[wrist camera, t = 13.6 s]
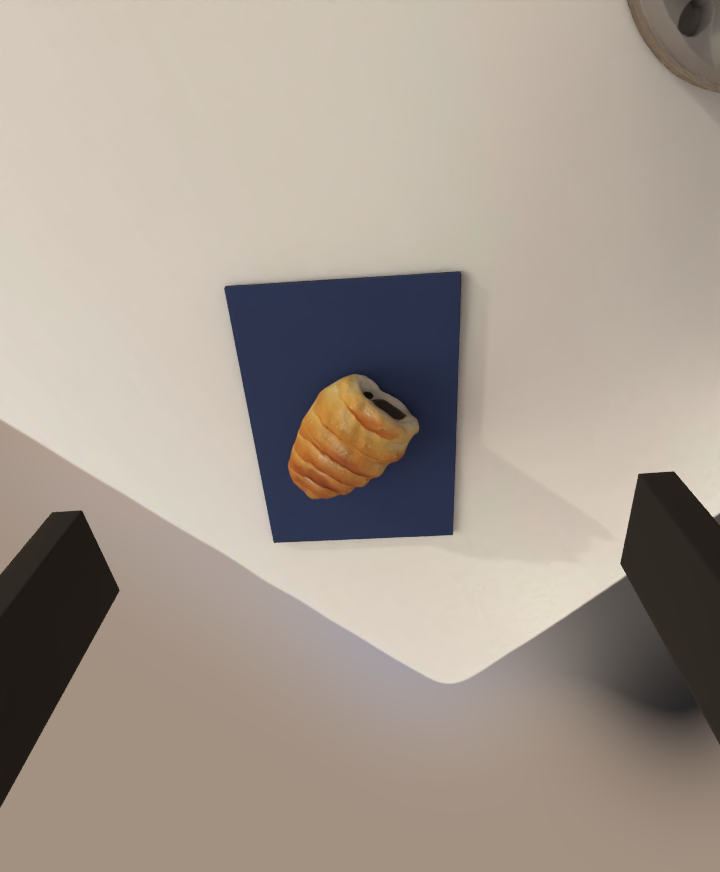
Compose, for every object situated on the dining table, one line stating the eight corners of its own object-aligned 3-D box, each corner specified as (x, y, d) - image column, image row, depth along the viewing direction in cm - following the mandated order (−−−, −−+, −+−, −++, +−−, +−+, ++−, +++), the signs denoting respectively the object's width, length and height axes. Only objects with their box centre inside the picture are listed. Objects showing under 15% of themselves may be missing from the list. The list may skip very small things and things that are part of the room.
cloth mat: (460, 271, 31) (461, 272, 31) (452, 531, 41) (452, 535, 41) (225, 286, 32) (224, 287, 31) (274, 539, 42) (273, 542, 41)
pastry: (342, 501, 39) (340, 536, 36) (265, 454, 37) (255, 486, 34) (425, 413, 35) (431, 442, 32) (344, 355, 33) (341, 380, 30)
